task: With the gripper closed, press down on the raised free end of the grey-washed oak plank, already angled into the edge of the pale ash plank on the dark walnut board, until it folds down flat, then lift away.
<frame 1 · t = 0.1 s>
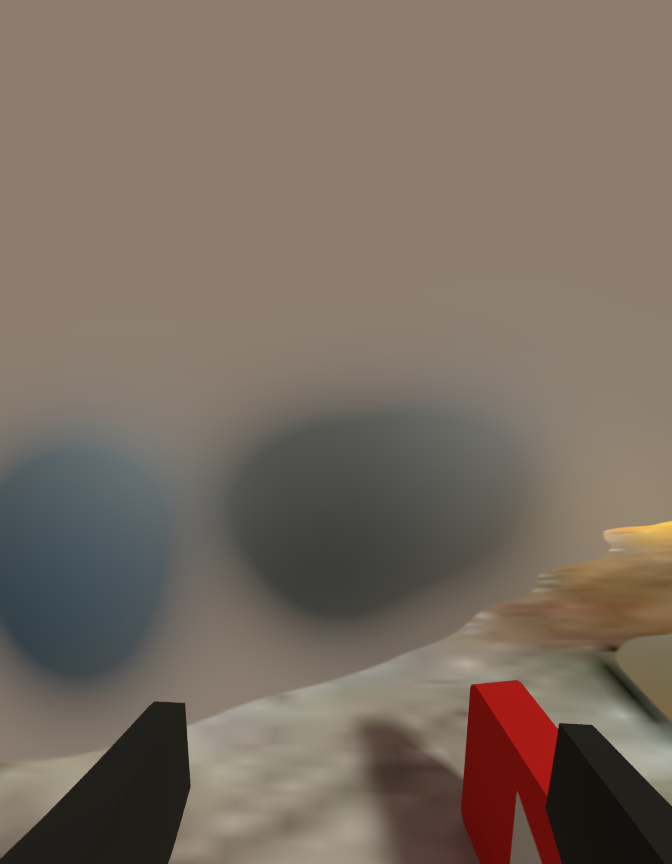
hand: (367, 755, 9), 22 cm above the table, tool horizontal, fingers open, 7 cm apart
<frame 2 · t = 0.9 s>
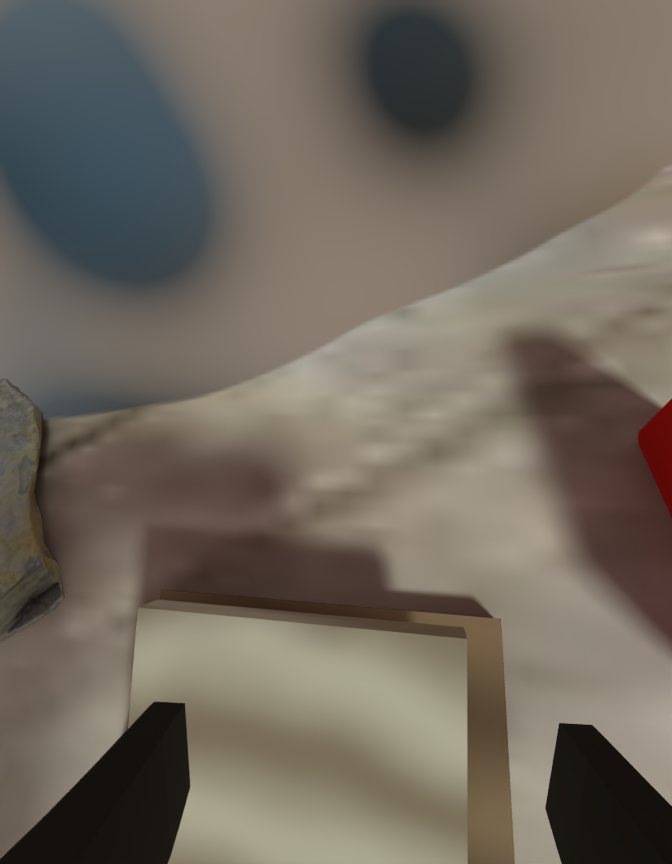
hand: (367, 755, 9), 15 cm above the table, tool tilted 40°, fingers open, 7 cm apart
angled plank: (289, 756, 19), point 4 cm above the table, hinge at 18.0°
floor board: (303, 824, 21), on the table
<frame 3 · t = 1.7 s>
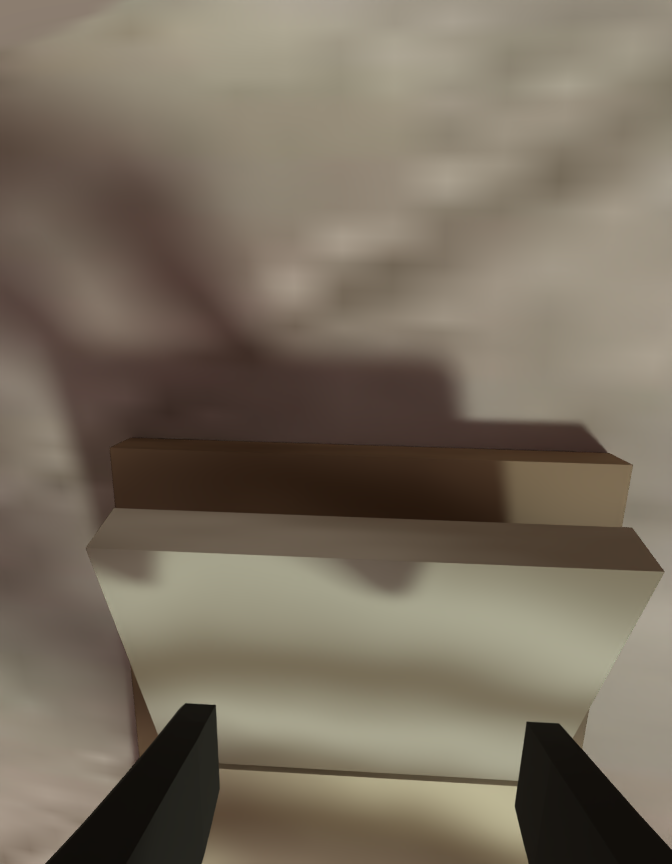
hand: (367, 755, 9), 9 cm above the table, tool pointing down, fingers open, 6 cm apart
angled plank: (360, 663, 14), point 4 cm above the table, hinge at 18.0°
floor board: (356, 661, 19), on the table
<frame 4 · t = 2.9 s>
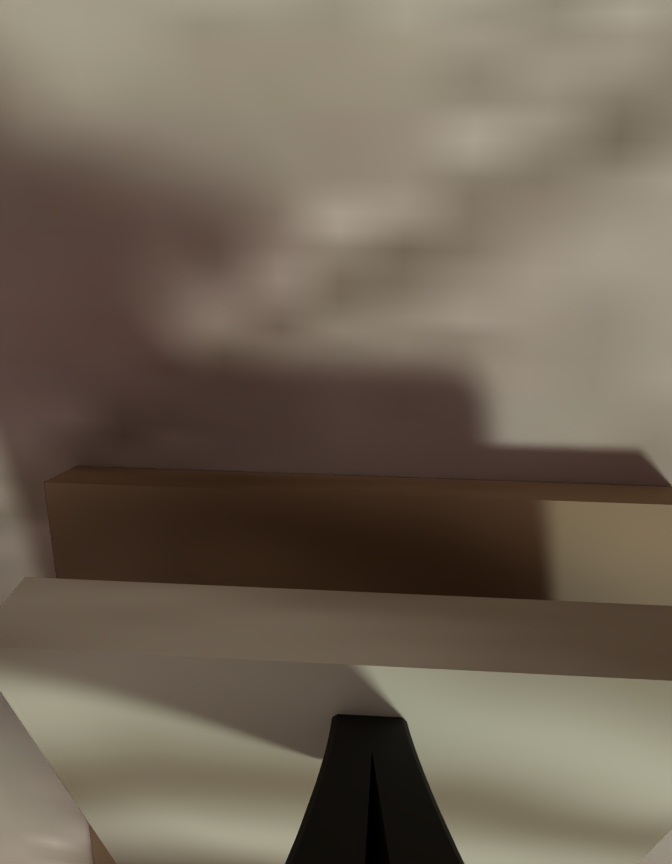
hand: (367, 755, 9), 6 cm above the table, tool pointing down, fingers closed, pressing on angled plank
angled plank: (362, 768, 11), point 4 cm above the table, hinge at 18.0°, touching gripper
floor board: (357, 734, 16), on the table
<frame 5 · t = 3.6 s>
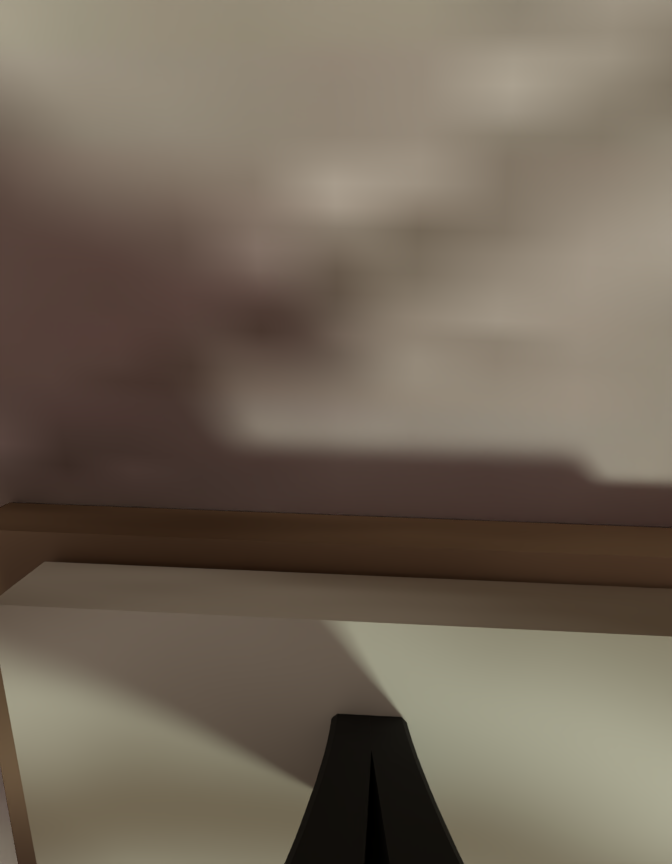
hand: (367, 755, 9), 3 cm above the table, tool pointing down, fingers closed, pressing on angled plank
angled plank: (364, 817, 10), point 2 cm above the table, hinge at 0.8°, touching gripper
floor board: (358, 823, 13), on the table
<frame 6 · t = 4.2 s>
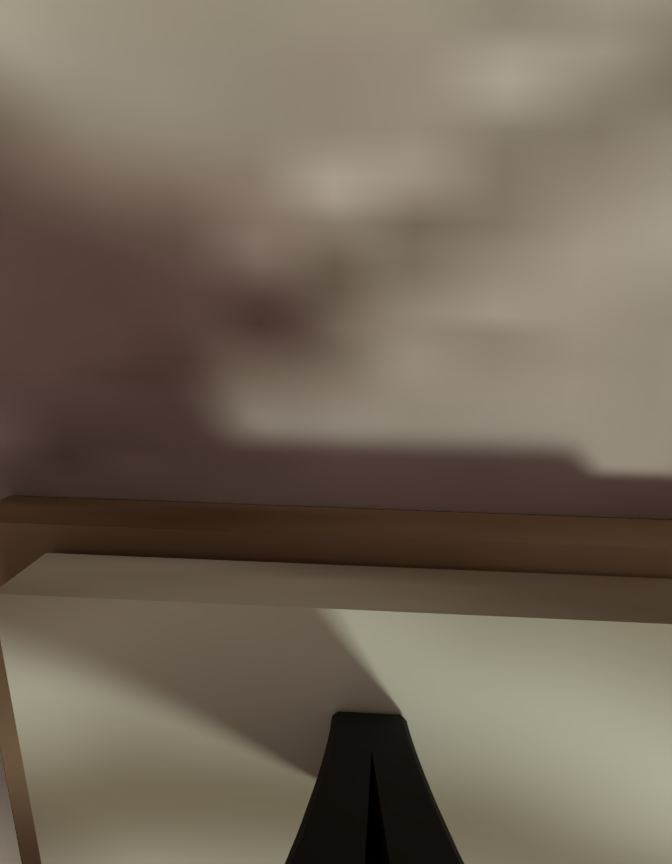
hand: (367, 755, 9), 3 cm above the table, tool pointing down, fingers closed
angled plank: (361, 805, 10), point 2 cm above the table, hinge at 0.6°
floor board: (356, 812, 13), on the table
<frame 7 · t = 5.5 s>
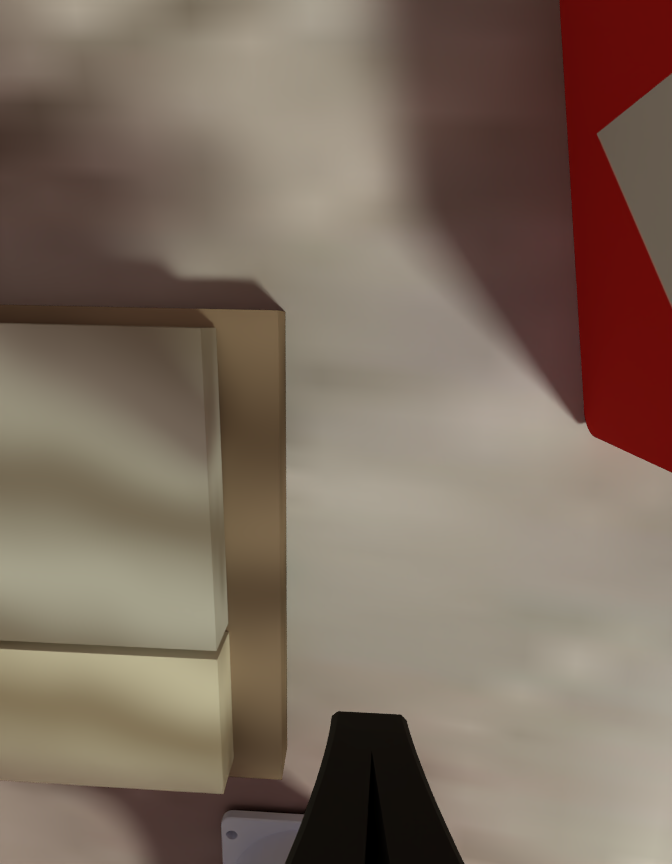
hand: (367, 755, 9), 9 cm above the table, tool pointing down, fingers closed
angled plank: (14, 488, 15), point 2 cm above the table, hinge at 0.6°
play button: (613, 210, 15), on the table
floor board: (68, 546, 19), on the table
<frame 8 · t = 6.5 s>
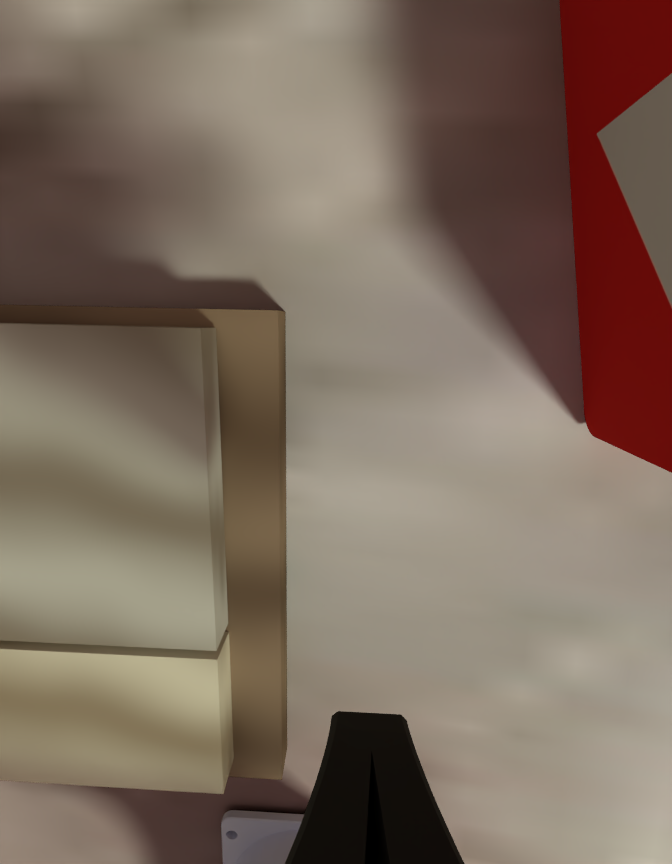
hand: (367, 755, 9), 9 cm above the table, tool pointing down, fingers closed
angled plank: (14, 488, 15), point 2 cm above the table, hinge at 0.6°
play button: (613, 210, 15), on the table
floor board: (68, 546, 19), on the table
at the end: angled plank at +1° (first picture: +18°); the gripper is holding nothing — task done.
